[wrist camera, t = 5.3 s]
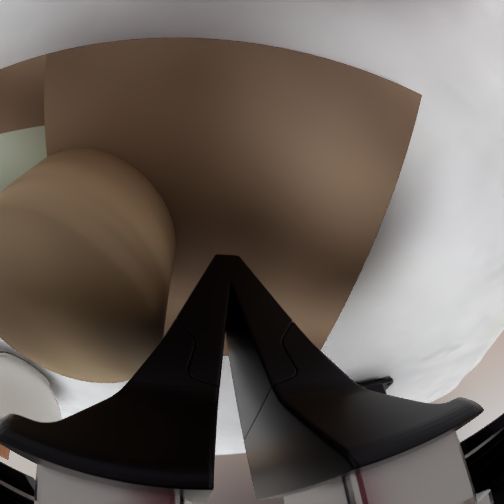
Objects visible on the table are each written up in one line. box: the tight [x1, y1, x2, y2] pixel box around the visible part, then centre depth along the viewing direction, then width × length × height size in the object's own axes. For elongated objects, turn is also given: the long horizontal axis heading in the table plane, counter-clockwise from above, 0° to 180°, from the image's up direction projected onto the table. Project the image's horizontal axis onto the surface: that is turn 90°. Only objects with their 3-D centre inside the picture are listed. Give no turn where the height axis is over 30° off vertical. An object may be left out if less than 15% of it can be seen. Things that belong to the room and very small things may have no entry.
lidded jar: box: [0, 352, 62, 460], centre depth 13 cm, size 11×11×9 cm
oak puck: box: [0, 148, 176, 383], centre depth 8 cm, size 7×7×4 cm
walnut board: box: [0, 38, 422, 356], centre depth 10 cm, size 14×22×1 cm, turn 81°
